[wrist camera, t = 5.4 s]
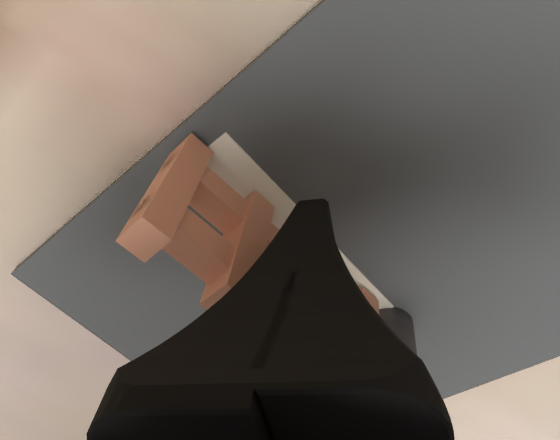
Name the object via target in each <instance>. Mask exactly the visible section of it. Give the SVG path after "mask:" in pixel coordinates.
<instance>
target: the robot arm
mask: <svg viewBox="0 0 560 440" xmlns="http://www.w3.org/2000/svg"><path fill="white" fill-rule="evenodd" d="M87 440H454V431H453V426H452V423H451V420H450V416H449V414H448V411H447V408H446V406H445V403H444V401H443V399H442V397H441V395H440V392H439V390H438V388H437V387H436V385H435V383H434V381H433V379H432V377H431V375H430V373H429V371H428V370H427V368H426V366H425V364H424V362H423V360H422V359H421V358H419V357H418V356H417V355H416V354H415V353H414V352H413V351H412V350H411V349H410V348H409V347H408V346H407V345H406V344H405V343H404V342H403V341H401V340H400V338H399V337H398V336H397V335H396V334H395V333H394V332H393V331H392V330H391V329H390V328H389V327H388V326H387V324H386V323H385V322H384V321H383V319H382V318H381V317H380V316H379V314H378V313H377V312H376V311H375V309H374V308H373V307H372V306H371V304H370V303H369V302H368V300H367V299H366V297H365V296H364V295H363V293H362V292H361V290H360V289H359V287H358V285H357V284H356V282H355V281H354V279H353V277H352V275H351V274H350V272H349V270H348V268H347V266H346V264H345V262H344V260H343V258H342V256H341V254H340V252H339V249H338V247H337V244H336V242H335V237H334V231H333V225H332V219H331V214H330V208H329V202H328V201H326V200H325V199H324V198H322V199H312V200H302V201H299V202H298V203H297V204H296V205H295V207H294V208H293V210H292V212H291V213H290V215H289V216H288V218H287V219H286V221H285V222H284V224H283V225H282V227H281V228H280V230H279V231H278V233H277V234H276V235H275V237H274V238H273V240H272V241H271V242H270V244H269V245H268V246H267V248H266V249H265V251H264V252H263V253H262V254H261V256H260V257H259V258H258V259H257V260H256V262H255V263H254V264H253V265H252V266H251V268H250V269H249V270H248V271H247V272H246V274H245V275H244V276H243V277H242V278H241V279H240V280H239V281H238V282H237V283H236V284H235V285H234V286H233V287H232V288H231V289H230V290H229V291H228V292H227V293H226V294H225V295H224V296H223V297H222V298H221V299H220V300H218V301H217V302H216V303H215V304H214V305H212V306H211V307H210V308H209V309H208V310H206V311H205V312H204V313H203V314H202V315H200V316H199V317H198V318H197V319H196V320H194V321H193V322H192V323H190V324H189V325H187V326H186V327H185V328H183V329H182V330H181V331H179V332H178V333H176V334H175V335H173V336H172V337H170V338H169V339H167V340H166V341H164V342H163V343H161V344H160V345H158V346H156V347H155V348H153V349H151V350H150V351H148V352H146V353H144V354H143V355H141V356H139V357H138V358H136V359H134V360H132V361H131V362H129V363H127V364H125V365H123V366H122V367H120V368H118V369H117V371H116V373H115V374H114V376H113V378H112V380H111V382H110V384H109V386H108V387H107V390H106V392H105V394H104V396H103V399H102V401H101V403H100V405H99V408H98V410H97V412H96V414H95V416H94V419H93V421H92V423H91V425H90V427H89V430H88V432H87Z"/></svg>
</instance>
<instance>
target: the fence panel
mask: <svg viewBox="0 0 560 440" xmlns="http://www.w3.org/2000/svg"><path fill="white" fill-rule="evenodd" d="M212 155H213V151H211V150H210V149H209V148H208V147H207V146H206V145H205V144H204V143H203V142H201V141H200V140H199V139H198V138H197V137H196V136H195V135H194V134H193V133H191V134H190V135H189V136H188V137H187V138H185V139H184V140H183V141H182V142H181V143H180V144H179V145H178V146H177V147H176V148H175V149H174V150H173V151H172V152H171V153H170V154H169V156H168V157H167V159H166V161H165V162H164V164H163V165H162V167H161V169H160V170H159V172H158V173H157V175H156V177H155V178H154V180H153V181H152V183H151V185H150V186H149V188H148V189H147V191H146V193H145V194H144V196H143V197H142V199H141V201H140V202H139V204H138V205H137V207H136V209H135V210H134V212H133V214H132V215H131V217H130V218H129V220H128V222H127V223H126V225H125V226H124V228H123V230H122V231H121V233H120V234H119V236H118V238H117V239H116V242H117V243H118V244H120V245H121V246H122V247H124V248H125V249H126V250H128V251H129V252H130V253H132V254H133V255H134V256H136V257H137V258H138V259H140V260H141V261H142V262H144V263H145V262H146V261H148V260H149V259H150V258H151V257H152V256H154V255H155V254H156V253H157V252H158V251H160V250H161V249H162V250H164V251H165V252H166V253H168V254H169V255H170V256H171V257H173V258H174V259H175V260H177V261H178V262H179V263H180V264H182V265H183V266H184V267H186V268H187V269H188V270H189V271H191V272H192V273H193V274H195V275H196V276H197V277H199V278H200V279H201V280H202V281H204V282H205V283H206V285H205V288H204V291H203V294H202V297H201V300H200V303H199V304H200V305H201V306H202V307H204V308H205V309H206V310H208V309H209V308H210V307H211V306H212V305H214V304H215V303H216V302H217V301H218V300H220V299H221V298H222V297H223V296H224V295H225V294H226V293H227V292H228V291H229V290H230V289H231V288H232V287H233V286H234V285H235V284H236V283H237V282H238V281H239V280H240V279H241V278H242V277H243V276H244V275H245V274H246V272H247V271H248V270H249V269H250V268H251V266H252V265H253V264H254V263H255V262H256V260H257V259H258V258H259V257H260V256H261V254H262V253H263V252H264V251H265V249H266V248H267V246H268V245H269V244H270V242H271V241H272V240H273V238H274V237H275V235H276V234H277V233H278V231H279V229H278V228H277V227H276V226H275V225H273V224H272V223H271V221H272V217H273V212H274V208H275V207H274V206H273V205H271V204H270V203H269V202H268V201H267V200H266V199H265V198H264V197H263V196H261V195H260V194H259V193H258V192H257V191H256V190H254V191H253V192H252V193H250V194H249V195H248V196H247V197H246V198H243V197H242V196H241V195H239V194H238V193H237V192H236V191H235V190H234V189H233V188H232V187H230V186H229V185H228V184H227V183H226V182H225V181H224V180H223V179H221V178H220V177H219V176H218V175H217V174H216V173H215V172H213V171H212V170H211V169H210V168H209V167H208V166H207V165H208V163H209V161H210V159H211V157H212ZM188 205H189V206H190V207H192V208H193V209H194V210H195V211H196V212H198V213H199V214H200V215H201V216H202V217H204V218H205V219H206V220H207V221H208V222H210V223H211V224H212V225H213V226H214V227H216V228H217V229H218V230H219V231H220V232H222V233H223V236H221V235H220V234H219V233H218V232H217V231H215V230H214V229H213V228H212V227H211V226H209V225H208V224H207V223H206V222H204V221H203V220H202V219H201V218H200V217H198V216H197V215H196V214H195V213H194V212H192V211H191V210H190V209H189V208H188ZM360 290H361V292H362V293H363V295H364V296H365V297H366V299H367V300H368V302H369V303H370V304H371V306H372V307H373V308H374V309H375V311H376V312H377V313H378V314H379V301H378V300H377V299H376V298H375V297H374V296H373V295H371V294H370V293H369V292H368V291H367V290H366V289H365V288H364V287H361V288H360Z"/></svg>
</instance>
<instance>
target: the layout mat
mask: <svg viewBox="0 0 560 440" xmlns="http://www.w3.org/2000/svg"><path fill="white" fill-rule="evenodd" d="M191 133H193V134H194V135H195V136H196V137H197V138H198V139H199V140H200V141H201V142H203V143H204V144H205V145H206V146H207V147H208V148H209V149H210V150H211V151H213V155H212V157H211V159H210V161H209V163H208V165H207V166H208V167H209V168H210V169H211V170H212V171H213V172H215V173H216V174H217V175H218V176H219V177H220V178H221V179H223V180H224V181H225V182H226V183H227V184H228V185H229V186H230V187H232V188H233V189H234V190H235V191H236V192H237V193H238V194H239V195H241V196H242V197H243V198H246V197H247V196H248V195H249V194H250V193H252V192H253V191H254V190H256V191H257V192H258V193H259V194H260V195H261V196H263V197H264V198H265V199H266V200H267V201H268V202H269V203H270V204H271V205H273V206H274V207H275V208H274V212H273V217H272V221H271V223H272V224H273V225H275V226H276V227H277V228H278V229H279V230H280V228H281V227H282V225H283V224H284V222H285V221H286V219H287V218H288V216H289V215H290V213H291V212H292V210H293V208H294V207H295V205H296V204H297V203H298V202H299V201H302V200H312V199H322V198H324V199H325V200H326V201H328V202H329V208H330V214H331V219H332V225H333V231H334V237H335V242H336V244H337V247H338V249H339V252H340V254H341V256H342V258H343V260H344V262H345V264H346V266H347V268H348V270H349V272H350V274H351V275H352V277H353V279H354V281H355V282H356V284H357V285H358V287H359V289H360V288H361V287H364V288H365V289H366V290H367V291H368V292H369V293H370V294H371V295H373V296H374V297H375V298H376V299H377V300H378V301H379V309H383V308H393V307H397V308H400V309H403V310H405V311H406V312H407V313H409V314H410V316H411V317H412V320H413V326H414V334H415V341H416V349H417V356H418V357H419V358H421V359H422V360H423V362H424V364H425V366H426V368H427V370H428V371H429V373H430V375H431V377H432V379H433V381H434V383H435V385H436V387H437V388H438V390H439V392H440V395H441V397H442V399H444V398H447V397H450V396H452V395H455V394H458V393H461V392H463V391H466V390H469V389H471V388H474V387H477V386H480V385H482V384H485V383H488V382H490V381H493V380H496V379H499V378H501V377H504V376H507V375H509V374H512V373H515V372H518V371H520V370H523V369H526V368H529V367H531V366H534V365H537V364H539V363H542V362H545V361H548V360H550V359H553V358H556V357H558V356H560V0H322V1H321V2H320V3H319V4H318V5H317V6H316V7H314V8H313V9H312V10H311V11H310V12H309V13H308V14H306V15H305V16H304V17H303V18H302V19H301V20H300V21H298V22H297V23H296V24H295V25H294V26H293V27H292V28H290V29H289V30H288V31H287V32H286V33H285V34H284V35H282V36H281V37H280V38H279V39H278V40H277V41H275V42H274V43H273V44H272V45H271V46H270V47H269V48H267V49H266V50H265V51H264V52H263V53H262V54H261V55H259V56H258V57H257V58H256V59H255V60H254V61H253V62H251V63H250V64H249V65H248V66H247V67H246V68H245V69H243V70H242V71H241V72H240V73H239V74H238V75H237V76H235V77H234V78H233V79H232V80H231V81H230V82H229V83H227V84H226V85H225V86H224V87H223V88H222V89H221V90H219V91H218V92H217V93H216V94H215V95H214V96H212V97H211V98H210V99H209V100H208V101H207V102H206V103H204V104H203V105H202V106H201V107H200V108H199V109H198V110H196V111H195V112H194V113H193V114H192V115H191V116H190V117H188V118H187V119H186V120H185V121H184V122H183V123H182V124H180V125H179V126H178V127H177V128H176V129H175V130H174V131H172V132H171V133H170V134H169V135H168V136H167V137H166V138H164V139H163V140H162V141H161V142H160V143H159V144H158V145H156V146H155V147H154V148H153V149H152V150H151V151H149V152H148V153H147V154H146V155H145V156H144V157H143V158H141V159H140V160H139V161H138V162H137V163H136V164H135V165H133V166H132V167H131V168H130V169H129V170H128V171H127V172H125V173H124V174H123V175H122V176H121V177H120V178H119V179H117V180H116V181H115V182H114V183H113V184H112V185H111V186H109V187H108V188H107V189H106V190H105V191H104V192H103V193H101V194H100V195H99V196H98V197H97V198H96V199H95V200H93V201H92V202H91V203H90V204H89V205H88V206H86V207H85V208H84V209H83V210H82V211H81V212H80V213H78V214H77V215H76V216H75V217H74V218H73V219H72V220H70V221H69V222H68V223H67V224H66V225H65V226H64V227H62V228H61V229H60V230H59V231H58V232H57V233H56V234H54V235H53V236H52V237H51V238H50V239H49V240H48V241H46V242H45V243H44V244H43V245H42V246H41V247H40V248H38V249H37V250H36V251H35V252H34V253H33V254H32V255H30V256H29V257H28V258H27V259H26V260H25V261H23V262H22V263H21V264H20V265H19V266H18V267H17V268H15V270H14V271H13V272H12V273H11V275H13V276H14V277H16V278H17V279H18V280H20V281H21V282H23V283H24V284H25V285H27V286H28V287H29V288H31V289H32V290H34V291H35V292H36V293H38V294H39V295H41V296H42V297H43V298H45V299H46V300H47V301H49V302H50V303H52V304H53V305H54V306H56V307H57V308H58V309H60V310H61V311H63V312H64V313H65V314H67V315H68V316H70V317H71V318H72V319H74V320H75V321H76V322H78V323H79V324H81V325H82V326H83V327H85V328H86V329H88V330H89V331H90V332H92V333H93V334H94V335H96V336H97V337H99V338H100V339H101V340H103V341H104V342H106V343H107V344H108V345H110V346H111V347H112V348H114V349H115V350H117V351H118V352H119V353H121V354H122V355H123V356H125V357H126V358H128V359H129V360H130V361H132V360H134V359H136V358H138V357H139V356H141V355H143V354H144V353H146V352H148V351H150V350H151V349H153V348H155V347H156V346H158V345H160V344H161V343H163V342H164V341H166V340H167V339H169V338H170V337H172V336H173V335H175V334H176V333H178V332H179V331H181V330H182V329H183V328H185V327H186V326H187V325H189V324H190V323H192V322H193V321H194V320H196V319H197V318H198V317H199V316H200V315H202V314H203V313H204V312H205V311H206V309H205V308H204V307H202V306H201V305H200V304H199V303H200V300H201V297H202V294H203V291H204V288H205V285H206V283H205V282H204V281H202V280H201V279H200V278H199V277H197V276H196V275H195V274H193V273H192V272H191V271H189V270H188V269H187V268H186V267H184V266H183V265H182V264H180V263H179V262H178V261H177V260H175V259H174V258H173V257H171V256H170V255H169V254H168V253H166V252H165V251H164V250H162V249H161V250H160V251H158V252H157V253H156V254H155V255H154V256H152V257H151V258H150V259H149V260H148V261H146V262H145V263H144V262H142V261H141V260H140V259H138V258H137V257H136V256H134V255H133V254H132V253H130V252H129V251H128V250H126V249H125V248H124V247H122V246H121V245H120V244H118V243H117V242H116V239H117V238H118V236H119V234H120V233H121V231H122V230H123V228H124V226H125V225H126V223H127V222H128V220H129V218H130V217H131V215H132V214H133V212H134V210H135V209H136V207H137V205H138V204H139V202H140V201H141V199H142V197H143V196H144V194H145V193H146V191H147V189H148V188H149V186H150V185H151V183H152V181H153V180H154V178H155V177H156V175H157V173H158V172H159V170H160V169H161V167H162V165H163V164H164V162H165V161H166V159H167V157H168V156H169V154H170V153H171V152H172V151H173V150H174V149H175V148H176V147H177V146H178V145H179V144H180V143H181V142H182V141H183V140H184V139H185V138H187V137H188V136H189V135H190V134H191ZM188 208H189V209H190V210H191V211H192V212H194V213H195V214H196V215H197V216H198V217H200V218H201V219H202V220H203V221H204V222H206V223H207V224H208V225H209V226H211V227H212V228H213V229H214V230H215V231H217V232H218V233H219V234H220V235H221V236H223V233H222V232H220V231H219V230H218V229H217V228H216V227H214V226H213V225H212V224H211V223H210V222H208V221H207V220H206V219H205V218H204V217H202V216H201V215H200V214H199V213H198V212H196V211H195V210H194V209H193V208H192V207H190V206H189V205H188Z"/></svg>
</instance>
